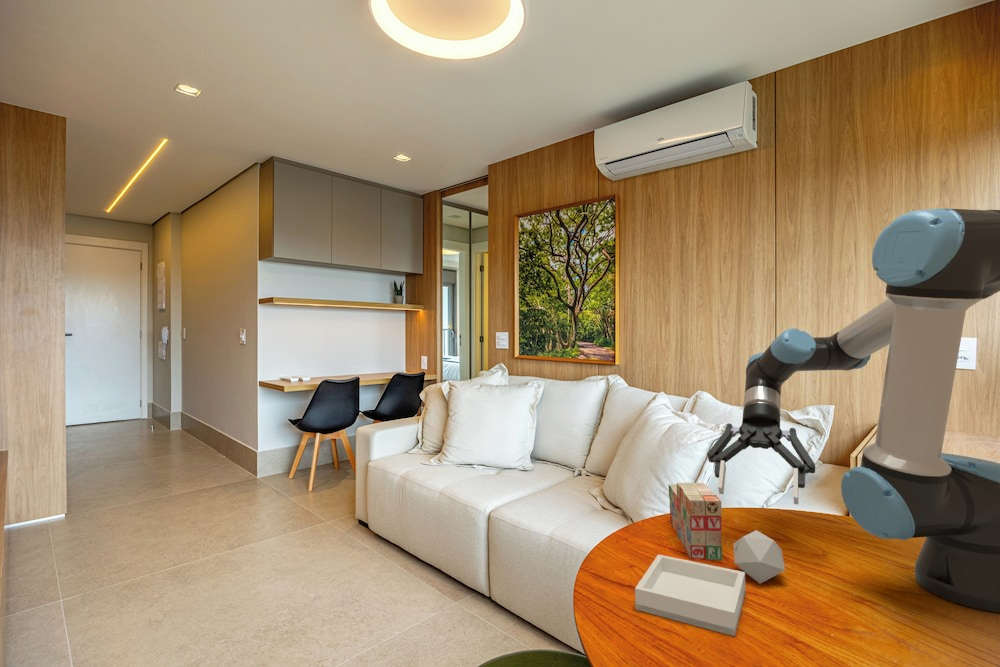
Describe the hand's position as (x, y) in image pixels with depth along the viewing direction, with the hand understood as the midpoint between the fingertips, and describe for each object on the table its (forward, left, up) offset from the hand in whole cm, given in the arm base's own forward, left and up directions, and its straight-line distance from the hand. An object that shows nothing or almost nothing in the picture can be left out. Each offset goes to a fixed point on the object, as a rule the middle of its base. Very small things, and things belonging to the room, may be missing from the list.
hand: (756, 495), depth 101 cm
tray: (+8, +24, -13) cm, 28 cm away
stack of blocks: (+13, -4, -13) cm, 19 cm away
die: (-1, +9, -13) cm, 15 cm away
